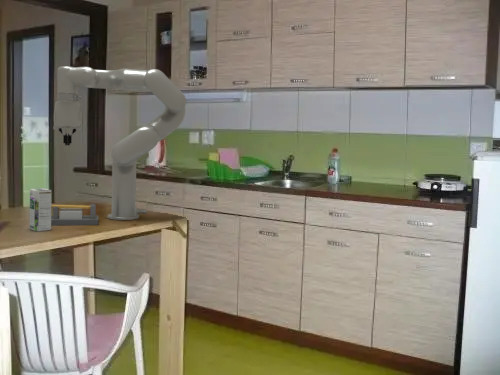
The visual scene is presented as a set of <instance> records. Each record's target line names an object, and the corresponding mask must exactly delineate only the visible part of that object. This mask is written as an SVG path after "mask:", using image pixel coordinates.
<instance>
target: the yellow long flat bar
mask: <svg viewBox="0 0 500 375" xmlns="http://www.w3.org/2000/svg"><path fill="white" fill-rule="evenodd" d="M92 206H94V205H92ZM53 207H58V208H59V209H82V210H85V209H86V210H90V205H82V204H79V205H77V204H76V205H75V204H51V209H53Z"/></svg>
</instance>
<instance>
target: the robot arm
mask: <svg viewBox="0 0 500 375" xmlns="http://www.w3.org/2000/svg"><path fill="white" fill-rule="evenodd" d="M78 85H79V86H83V87H86V88H87V89H88V88H89V89H91V88H92V89H105V90H118V91H133V92H134V91H136V92H137V91H138V92H149V93H152V94H153V95H154V97H155V98H157V99H158V100H159V101H160V102H161V103H162V104H163V105H164V107H165V109H164V110H163V112H162V113H161V114H160V115H158V116H156V117H155V118H154V119H153V120H151V121H150V122H148V123H146V124H145V125H142V126H140V127H139V128H138V129H136V130H134V131H132V133H131V132H130V134H129V135H127V136H125V137H124V138H123V139H121V140H120V141H118V142H116V143H115V144H114V145H113V146H112V148H111V150H110V155H111V158H112V166H111V169H112V171H111V177H112V178H111V212H110V213H108V214H107V219H109V220H114V221H115V220H116V221H131V220H137V219H139V218H140V214H143V215H144V214H148V209H147V208H138V207H137V204H136V203H137V202H136V201H137V199H136V193H137V185H136V184H137V160H139V159H140V158H141V157H144V155H146V154H147V153H149V152H150V151H151V150H153V149H154V148H155V147H156V146H157V145H158V144H159V142H161V141H162V140H164V139H165V138H166V137H168V136H169V135H170V134H172V133H173V132H175V131H176V130H177V129H178V128H179V127H180V126H181V124H182V122H183V121H184V118H185V115H186V105H187V98H186V95H185V94H184V92H182V91H181V90H180V89H179V88H178V86H176V85H175V83H173V81H171V80H170V79H169V77H168V76H167V75H166V74H165V73H164V72H163V71H162V70H160V69H158V68H157V69H156V68H151V69H137V68H136V69H135V68H119V69H114V70H112V69H111V70H109V69H108V70H107V69H106V70H105V69H94V68H92V67H90V66H77V67H74V66H69V65H63V66H62V65H61V66H59V67H58V68H57V101H55V103H54V111H53V127H52V129H53V130H54V131H57V132H60V134H62V135H63V144H64V145H65V146H70V145H71V144H72V137H73V136H72V135H73V134H74V133H76V132H80V131H82V113H81V112H82V109H81V103H80V102H78V101H80V100H82V96H80V95H79V93H78V92H79V90H78V89H79V88H78ZM66 128H69V131H68V133H67V130H66Z"/></svg>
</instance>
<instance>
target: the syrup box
mask: <svg viewBox="0 0 500 375" xmlns="http://www.w3.org/2000/svg"><path fill="white" fill-rule="evenodd" d="M51 206H52V189H46V188H41V187H40V188H38V187H37V188H30V189H29V230H32V231H34V232H43V231H44V232H45V231H51V230H52V225H51V216H52V208H51Z"/></svg>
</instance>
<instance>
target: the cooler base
mask: <svg viewBox="0 0 500 375" xmlns="http://www.w3.org/2000/svg"><path fill="white" fill-rule="evenodd" d="M92 205H94V206H92ZM96 205H97V203H90V204H89V206H90V209H89V210H90V211H89V215H83V209H73V208H58V207H53V208H52V214H53V215H51V226H99V215H97V208H96V207H97V206H96ZM59 209H60V210H59Z"/></svg>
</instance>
